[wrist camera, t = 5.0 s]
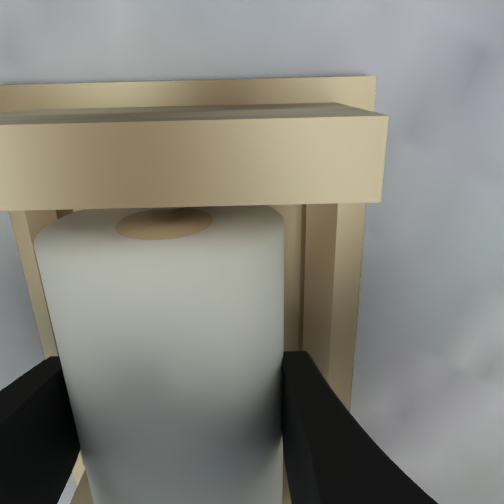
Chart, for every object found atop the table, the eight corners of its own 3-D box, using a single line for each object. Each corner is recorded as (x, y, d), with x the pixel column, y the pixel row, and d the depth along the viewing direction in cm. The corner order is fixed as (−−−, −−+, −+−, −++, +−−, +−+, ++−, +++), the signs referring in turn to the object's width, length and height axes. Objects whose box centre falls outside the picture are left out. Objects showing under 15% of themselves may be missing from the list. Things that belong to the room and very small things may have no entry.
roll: (289, 435, 14) (272, 612, 9) (143, 421, 15) (62, 577, 10) (292, 193, 11) (269, 278, 6) (107, 190, 12) (-33, 264, 7)
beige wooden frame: (366, 76, 12) (458, 72, 6) (338, 459, 17) (377, 625, 12) (-1, 85, 12) (-199, 88, 6) (86, 464, 17) (14, 632, 12)
